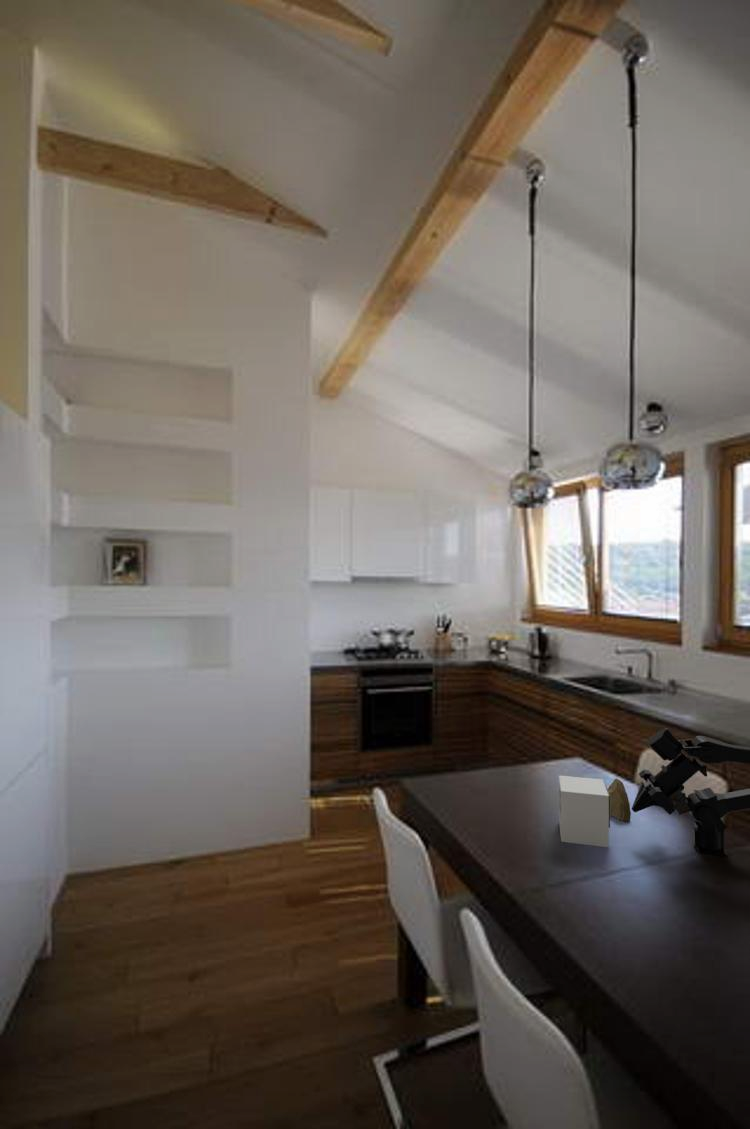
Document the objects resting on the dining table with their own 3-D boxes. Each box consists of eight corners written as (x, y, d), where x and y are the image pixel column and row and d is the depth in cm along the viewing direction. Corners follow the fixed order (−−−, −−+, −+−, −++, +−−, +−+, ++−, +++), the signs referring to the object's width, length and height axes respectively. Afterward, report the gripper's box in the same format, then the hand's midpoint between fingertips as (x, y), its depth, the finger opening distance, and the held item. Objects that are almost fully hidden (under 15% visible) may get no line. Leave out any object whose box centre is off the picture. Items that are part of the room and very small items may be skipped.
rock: (641, 816, 166) (636, 799, 175) (622, 792, 166) (618, 776, 176) (609, 833, 169) (605, 815, 178) (590, 809, 170) (588, 793, 179)
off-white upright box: (605, 827, 163) (604, 779, 164) (611, 847, 151) (611, 796, 151) (559, 822, 167) (558, 775, 167) (561, 841, 154) (561, 791, 155)
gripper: (711, 810, 143) (664, 849, 145) (691, 784, 160) (649, 820, 163) (675, 775, 145) (629, 815, 147) (660, 754, 163) (619, 789, 165)
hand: (633, 810), depth 156 cm, fingers closed
